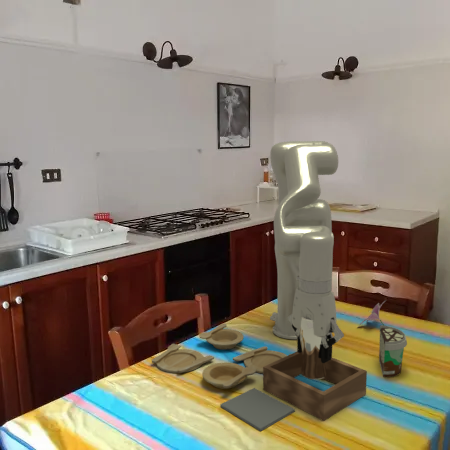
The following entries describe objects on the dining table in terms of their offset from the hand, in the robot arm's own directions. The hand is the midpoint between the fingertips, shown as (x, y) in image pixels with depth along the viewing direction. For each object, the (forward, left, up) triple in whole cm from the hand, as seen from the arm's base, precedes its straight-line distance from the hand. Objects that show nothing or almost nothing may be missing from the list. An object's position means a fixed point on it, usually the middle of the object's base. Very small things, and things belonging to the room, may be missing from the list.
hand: (314, 355), depth 115 cm
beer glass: (0, 0, -5) cm, 5 cm away
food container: (+7, +24, -9) cm, 27 cm away
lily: (-12, +46, -10) cm, 49 cm away
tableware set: (-27, -6, -10) cm, 29 cm away
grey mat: (-4, -16, -9) cm, 19 cm away
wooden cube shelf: (0, 0, -9) cm, 9 cm away
